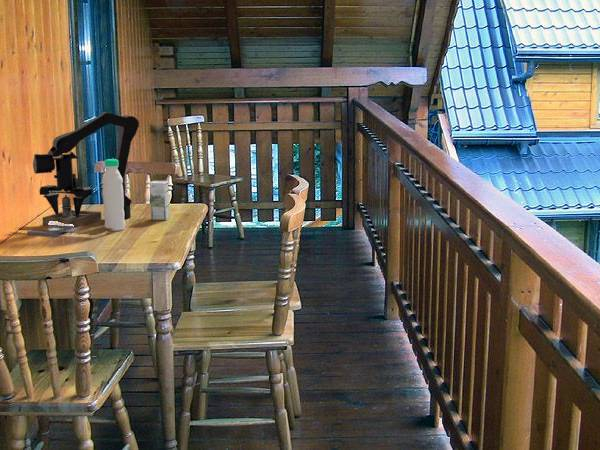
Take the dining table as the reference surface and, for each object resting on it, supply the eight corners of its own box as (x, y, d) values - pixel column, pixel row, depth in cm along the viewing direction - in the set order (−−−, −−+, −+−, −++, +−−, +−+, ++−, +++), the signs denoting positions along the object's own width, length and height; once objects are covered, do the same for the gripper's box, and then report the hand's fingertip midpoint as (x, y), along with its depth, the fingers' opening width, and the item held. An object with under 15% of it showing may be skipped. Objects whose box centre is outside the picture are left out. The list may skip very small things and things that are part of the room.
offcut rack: (101, 222, 308) (101, 211, 308) (76, 230, 294) (75, 219, 293) (69, 220, 313) (68, 209, 312) (43, 228, 298) (42, 217, 297)
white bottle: (120, 231, 291) (116, 160, 286) (101, 231, 293) (97, 160, 288) (128, 227, 298) (124, 158, 293) (110, 227, 299) (106, 158, 294)
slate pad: (71, 231, 292) (70, 228, 292) (56, 236, 285) (56, 233, 284) (42, 229, 296) (42, 226, 296) (27, 234, 288) (27, 231, 288)
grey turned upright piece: (73, 228, 298) (71, 195, 295) (57, 228, 298) (55, 195, 295) (78, 225, 303) (76, 192, 301) (62, 225, 304) (60, 193, 301)
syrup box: (169, 217, 316) (168, 180, 313) (165, 220, 310) (164, 182, 308) (155, 217, 317) (153, 179, 314) (150, 220, 311) (149, 182, 308)
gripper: (99, 169, 301) (102, 212, 304) (55, 167, 307) (58, 209, 310) (81, 173, 291) (84, 217, 294) (37, 171, 297) (40, 214, 300)
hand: (67, 214), depth 300 cm, fingers open, 8 cm apart
